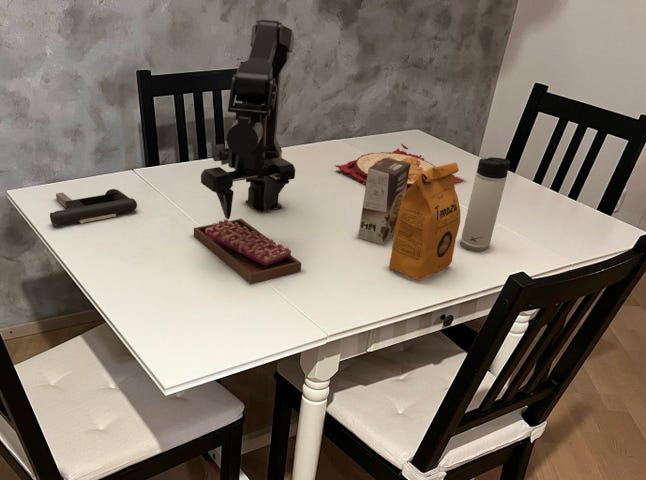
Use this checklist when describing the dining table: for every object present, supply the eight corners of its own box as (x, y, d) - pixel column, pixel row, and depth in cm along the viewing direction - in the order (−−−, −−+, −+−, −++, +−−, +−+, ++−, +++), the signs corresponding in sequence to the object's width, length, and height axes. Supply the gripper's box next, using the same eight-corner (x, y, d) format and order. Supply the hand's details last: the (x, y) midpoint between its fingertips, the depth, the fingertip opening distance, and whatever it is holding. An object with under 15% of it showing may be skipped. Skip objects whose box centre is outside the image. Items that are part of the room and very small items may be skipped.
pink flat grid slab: (228, 224, 163) (228, 216, 162) (290, 256, 152) (291, 247, 151) (203, 233, 158) (203, 225, 157) (265, 266, 148) (266, 257, 146)
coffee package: (457, 271, 154) (481, 168, 142) (417, 287, 148) (438, 180, 135) (421, 253, 161) (441, 153, 148) (381, 267, 154) (398, 164, 142)
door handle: (30, 194, 170) (55, 216, 158) (112, 181, 179) (140, 200, 168) (32, 208, 172) (56, 231, 160) (113, 194, 181) (141, 214, 170)
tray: (240, 226, 167) (241, 218, 166) (300, 271, 151) (301, 262, 150) (193, 236, 162) (193, 227, 161) (250, 284, 145) (250, 274, 144)
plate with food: (332, 171, 200) (334, 159, 198) (397, 153, 213) (399, 141, 211) (398, 202, 185) (400, 189, 183) (464, 180, 199) (466, 168, 197)
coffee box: (383, 245, 163) (395, 174, 154) (357, 238, 165) (367, 167, 156) (399, 232, 169) (412, 163, 160) (374, 224, 172) (384, 156, 163)
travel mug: (474, 254, 161) (495, 165, 150) (454, 242, 166) (473, 154, 155) (495, 250, 164) (518, 161, 153) (475, 238, 169) (496, 151, 157)
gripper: (269, 121, 152) (264, 193, 161) (187, 132, 144) (187, 208, 153) (299, 137, 145) (293, 212, 154) (215, 149, 136) (214, 228, 145)
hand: (246, 214), depth 151 cm, fingers open, 9 cm apart
